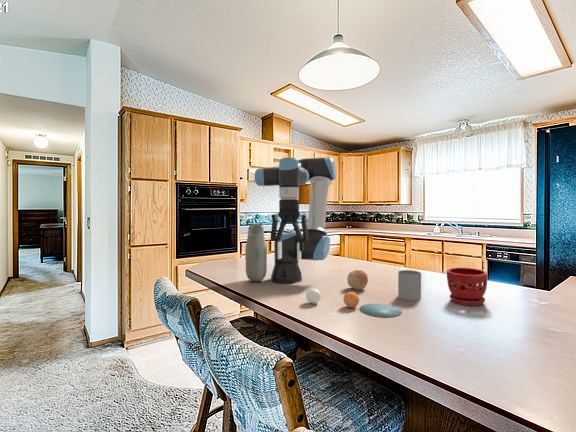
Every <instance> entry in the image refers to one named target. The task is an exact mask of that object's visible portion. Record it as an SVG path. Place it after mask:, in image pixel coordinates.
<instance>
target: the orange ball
mask: <svg viewBox="0 0 576 432" xmlns="http://www.w3.org/2000/svg"><path fill="white" fill-rule="evenodd" d="M343 303H344V305H345V306H346V307H348V308H351V309H352V308H355V307H357V306H358V305H359V303H360V297H359V295H358V294H357V293H356V292H354V291H348V292H346V293H345V294H344V296H343Z"/></svg>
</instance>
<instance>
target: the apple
mask: <svg viewBox="0 0 576 432" xmlns="http://www.w3.org/2000/svg"><path fill="white" fill-rule="evenodd" d="M346 279H347V284H348V286H349V287H350V288H351V289H354V290H357V291H361V290H364V289H365V288H366V287H367V284H368V281H369V277H368V274H367V273H366V272H365V271H364V270H361V269H355V270H351V271H349V273H348V274H347V278H346Z"/></svg>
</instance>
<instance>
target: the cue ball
mask: <svg viewBox="0 0 576 432" xmlns="http://www.w3.org/2000/svg"><path fill="white" fill-rule="evenodd" d="M321 294H322V293H321V292H320V291H319V289H317V288H310V289H308V290H307V292H306V295H305V297H306V300H307V301H308V302H309V303H310V304H313V305H315V304H318V303H319V302H320V300H321V298H322V295H321Z"/></svg>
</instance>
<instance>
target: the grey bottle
mask: <svg viewBox="0 0 576 432" xmlns="http://www.w3.org/2000/svg"><path fill="white" fill-rule="evenodd" d="M244 248H245V249H244V250H245V252H244V254H245V255H244V257H245V258H244V259H245V274H246V277H247V279H248V280H250V282H251V281H252V282H254V283H255V282H261V281H263V280H264V279H265V277H266V275H267V270H268V269H267V268H268V267H267V265H268V264H267V262H268V261H267V259H268V257H267V255H268V254H267V253H268V250H267V243H266V239H265V231H264V226H263V225H262V224H261V223H256V222H255V223H252V224H250V225H249V227H248V230H247V238H246V243H245V247H244Z"/></svg>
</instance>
